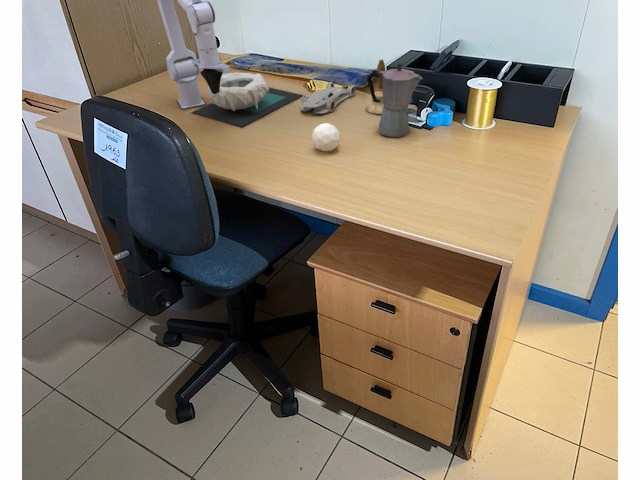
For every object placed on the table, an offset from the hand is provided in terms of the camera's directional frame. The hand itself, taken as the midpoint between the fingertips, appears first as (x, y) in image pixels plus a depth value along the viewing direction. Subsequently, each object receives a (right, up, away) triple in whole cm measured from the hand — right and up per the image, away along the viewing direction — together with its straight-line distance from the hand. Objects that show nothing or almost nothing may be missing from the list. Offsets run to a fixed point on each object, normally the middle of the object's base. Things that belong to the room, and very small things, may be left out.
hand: (215, 92), depth 150 cm
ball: (+35, -20, -13) cm, 42 cm away
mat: (+7, +1, +18) cm, 20 cm away
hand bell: (+52, -3, +8) cm, 53 cm away
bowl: (+5, 0, +16) cm, 17 cm away
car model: (+35, +1, +15) cm, 38 cm away
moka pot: (+54, -14, -6) cm, 56 cm away
